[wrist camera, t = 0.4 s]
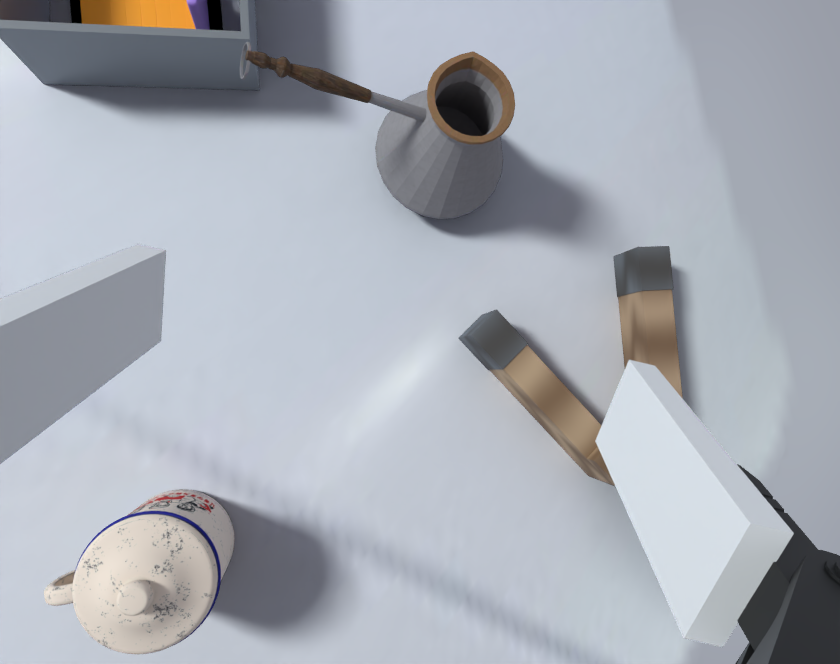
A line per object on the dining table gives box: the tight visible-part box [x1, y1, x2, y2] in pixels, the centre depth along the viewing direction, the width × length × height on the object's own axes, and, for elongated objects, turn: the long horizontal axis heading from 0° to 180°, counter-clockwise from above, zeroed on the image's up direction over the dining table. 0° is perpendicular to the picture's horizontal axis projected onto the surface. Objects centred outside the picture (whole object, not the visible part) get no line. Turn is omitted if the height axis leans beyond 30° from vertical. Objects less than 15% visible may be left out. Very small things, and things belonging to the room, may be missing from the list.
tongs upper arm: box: [459, 310, 615, 486], centre depth 48 cm, size 23×6×6 cm, turn 44°
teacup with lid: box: [44, 489, 234, 654], centre depth 38 cm, size 12×9×12 cm
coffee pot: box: [240, 42, 515, 219], centre depth 42 cm, size 21×12×15 cm, turn 88°
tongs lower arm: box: [614, 246, 683, 399], centre depth 51 cm, size 22×5×4 cm, turn 4°
